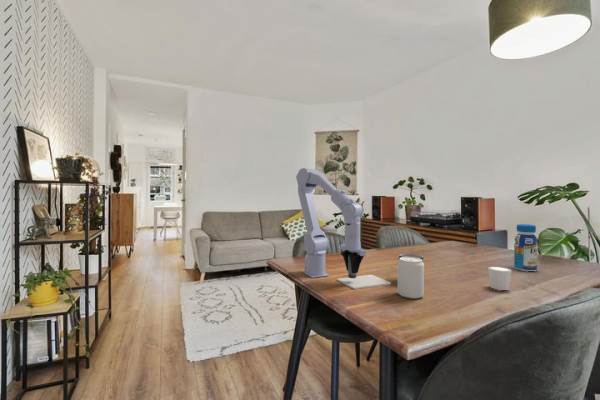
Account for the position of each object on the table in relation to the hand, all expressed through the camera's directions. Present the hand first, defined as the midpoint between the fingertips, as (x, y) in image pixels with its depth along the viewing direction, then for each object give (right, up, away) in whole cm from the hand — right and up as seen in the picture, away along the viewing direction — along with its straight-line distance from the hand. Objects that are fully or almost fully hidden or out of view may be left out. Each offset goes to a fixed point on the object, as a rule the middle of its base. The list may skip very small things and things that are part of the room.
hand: (352, 271), depth 110 cm
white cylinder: (+52, -5, -4) cm, 52 cm away
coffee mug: (+23, -5, +4) cm, 24 cm away
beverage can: (+17, -5, -12) cm, 22 cm away
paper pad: (+5, -5, +2) cm, 7 cm away
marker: (0, -2, 0) cm, 2 cm away
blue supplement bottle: (+81, -5, +22) cm, 84 cm away
